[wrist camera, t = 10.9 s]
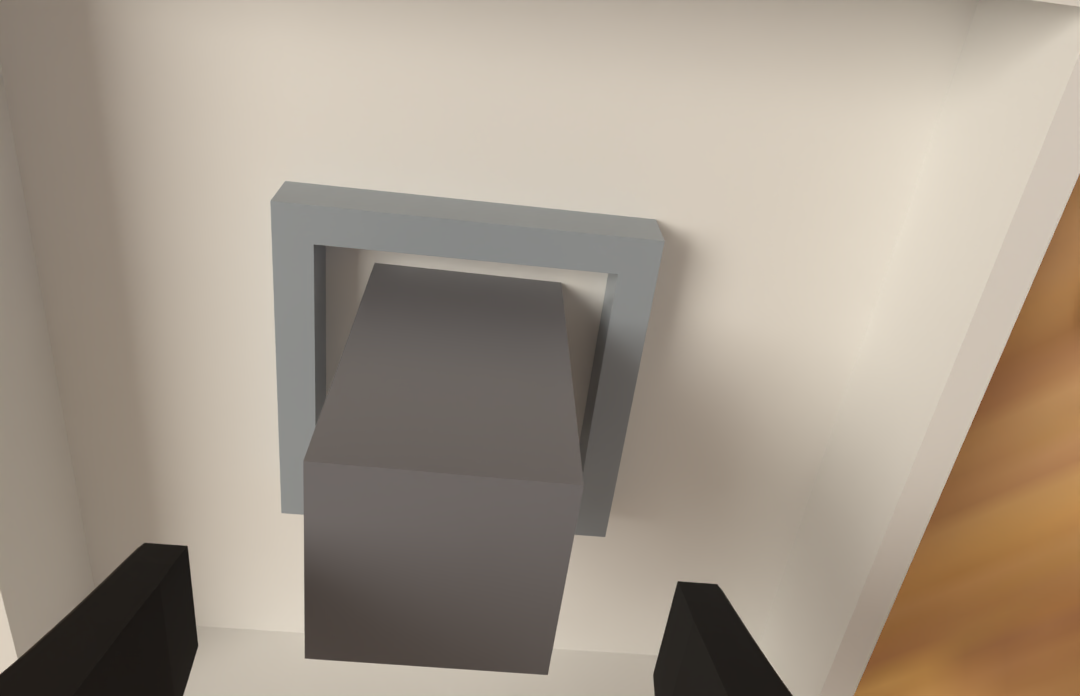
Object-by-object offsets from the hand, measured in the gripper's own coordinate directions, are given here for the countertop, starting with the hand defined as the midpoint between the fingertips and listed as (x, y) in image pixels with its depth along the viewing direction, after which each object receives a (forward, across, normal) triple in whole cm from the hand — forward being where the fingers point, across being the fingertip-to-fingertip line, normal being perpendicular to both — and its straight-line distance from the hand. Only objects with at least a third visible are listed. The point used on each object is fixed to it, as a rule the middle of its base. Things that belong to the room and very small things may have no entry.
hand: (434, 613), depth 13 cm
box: (+8, 0, 0) cm, 8 cm away
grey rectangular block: (+8, 0, 0) cm, 8 cm away
